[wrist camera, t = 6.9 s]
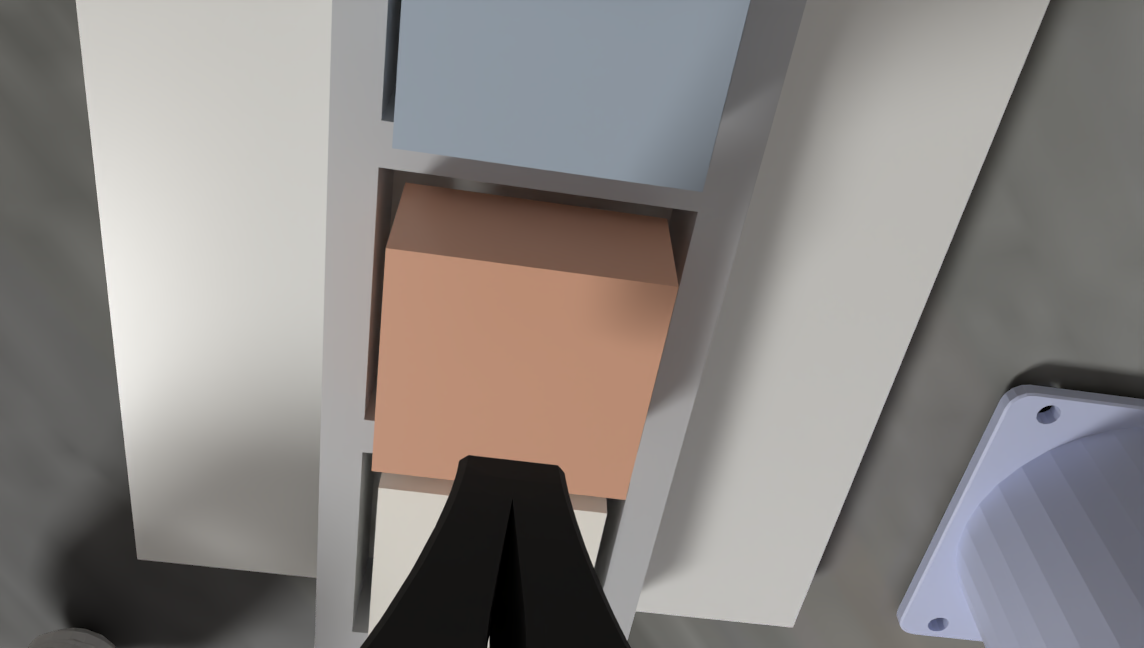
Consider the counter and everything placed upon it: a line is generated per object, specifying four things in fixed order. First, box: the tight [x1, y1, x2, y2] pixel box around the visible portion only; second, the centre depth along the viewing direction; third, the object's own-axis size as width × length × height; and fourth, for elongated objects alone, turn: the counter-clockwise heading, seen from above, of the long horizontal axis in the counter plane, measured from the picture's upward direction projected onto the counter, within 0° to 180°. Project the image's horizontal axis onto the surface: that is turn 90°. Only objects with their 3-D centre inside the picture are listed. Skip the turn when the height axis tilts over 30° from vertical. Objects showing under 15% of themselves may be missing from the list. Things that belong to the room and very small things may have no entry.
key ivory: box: [368, 472, 607, 648], centre depth 22 cm, size 4×4×2 cm
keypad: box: [76, 0, 1050, 648], centre depth 18 cm, size 16×25×3 cm, turn 171°
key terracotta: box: [371, 182, 679, 500], centre depth 17 cm, size 4×4×2 cm
